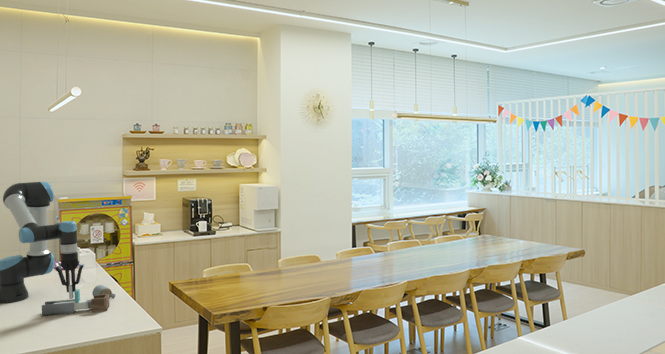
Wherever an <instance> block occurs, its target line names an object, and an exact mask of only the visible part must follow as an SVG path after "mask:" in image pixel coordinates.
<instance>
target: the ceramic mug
mask: <svg viewBox="0 0 665 354" xmlns="http://www.w3.org/2000/svg"><path fill="white" fill-rule="evenodd" d="M102 294H109V300H110V299H111V298H113V299H114V298H115V297H116V293H113V292H112V289H111V288H109V287H107V286H106V285H102V284H99V285H96V286H95V287H94V288H93V289H92V294H91V295H92V297H93V298H94V295H102Z"/></svg>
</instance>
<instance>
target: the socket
mask: <svg viewBox="0 0 665 354" xmlns="http://www.w3.org/2000/svg"><path fill="white" fill-rule="evenodd" d="M90 300H91V305H92V308H91V313H99V312H107V311H108V310H109V307H110V299H109V294H102V295H94V297H93V298H91V299H90Z"/></svg>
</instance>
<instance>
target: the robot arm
mask: <svg viewBox="0 0 665 354" xmlns="http://www.w3.org/2000/svg"><path fill="white" fill-rule="evenodd" d="M54 199H55V195H54V190H53V188H52V185H51V184H50V183H49V182H48V181H34V182H29V181H28V182H19V183H18V182H17V183H13V184H11V185H10V186H8V188H6V190H5V191H4V193H3V195H2V202H3V204H4V206H5V208H7V209H9V211H10V212H11V214H12V216H13V218H14V219H15V222H16V224H17V225H18V227H19V230H18V239H19V242H20V243H22V244H29V250H28V251H27V252H26V256H23V255H21V254H17V255H11V256H7V257H4V258H2V259H0V304H9V303H15V302H20V301H23V300H26V299H27V298H29V291H28V288H27V286H26V284H25V279H26V278H31V277H38V276H44V275H47V274H50V273H52V271H53V269H54V267H55V270H56V271H57V274H58V276H59V279H60V282H61V286H65V287H66V292H67V293H68V300H71V299H75V293H74V291H75V290H76V285H78V284H79V283H80V279H81V276H82V272H83V268H84V267H85V264H84V263H80V261H79V252H78V250H79V249H78V233H77V232H78V227H77V223H76V221H75V220H65V221H60V222H56V223H54V224H49V225H48V210H47V209H48V208H49V207H50V206H51V204H50V203H52V202H53V201H54ZM51 240H53V241H54V240H59V242H60V247H59V248H60V253H61V254H60V264H59V265H57V266H55V257H54V254H53V253H52V252H51V250H49V249H48V241H51ZM77 267H78V270H77V275H76V268H77ZM62 269H63V270H64V272H63V270H62ZM64 273H65V276H64ZM70 276H71V277H70ZM70 278H71V280H70ZM70 281H71V282H70Z"/></svg>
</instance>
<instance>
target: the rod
mask: <svg viewBox="0 0 665 354" xmlns="http://www.w3.org/2000/svg"><path fill="white" fill-rule="evenodd" d="M74 299H75V301H72V302H73V303H74V310H76V311H78V310H89V309H90V310H92V305H91V299H84V300H81V291H80V289H79V288H78V289H76V290H75V291H74ZM61 303H70V302H61ZM54 304H59V303H54Z"/></svg>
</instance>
